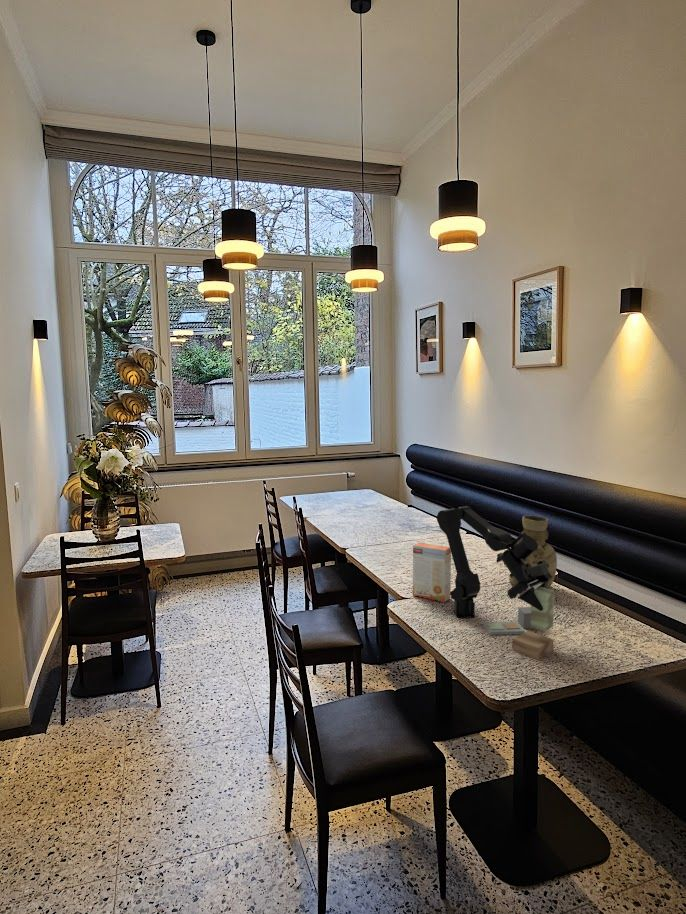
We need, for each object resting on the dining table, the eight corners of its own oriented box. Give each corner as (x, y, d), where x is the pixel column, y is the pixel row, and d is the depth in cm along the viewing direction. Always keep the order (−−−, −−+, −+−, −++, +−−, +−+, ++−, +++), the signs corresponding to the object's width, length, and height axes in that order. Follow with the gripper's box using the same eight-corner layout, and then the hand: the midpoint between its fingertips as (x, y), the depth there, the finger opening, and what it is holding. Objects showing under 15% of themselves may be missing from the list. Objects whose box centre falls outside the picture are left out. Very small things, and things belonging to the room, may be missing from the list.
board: (489, 634, 196) (489, 631, 196) (482, 625, 204) (482, 621, 204) (524, 633, 197) (524, 630, 197) (516, 624, 205) (516, 620, 205)
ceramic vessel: (502, 578, 254) (504, 510, 250) (554, 582, 248) (557, 513, 244) (501, 593, 236) (503, 520, 232) (557, 598, 229) (560, 523, 226)
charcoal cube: (523, 628, 202) (524, 613, 201) (517, 622, 207) (518, 607, 206) (539, 628, 202) (539, 613, 201) (533, 621, 207) (533, 607, 207)
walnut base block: (537, 660, 179) (538, 648, 178) (512, 650, 186) (512, 638, 185) (553, 651, 185) (553, 639, 184) (527, 642, 192) (528, 630, 191)
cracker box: (450, 598, 230) (452, 546, 227) (444, 603, 225) (445, 550, 222) (418, 591, 238) (419, 541, 235) (411, 596, 233) (412, 544, 230)
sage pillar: (544, 631, 184) (546, 594, 182) (530, 626, 188) (531, 590, 186) (552, 626, 187) (554, 590, 186) (538, 622, 191) (540, 586, 189)
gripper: (517, 559, 181) (548, 603, 174) (548, 547, 194) (578, 588, 187) (494, 577, 188) (524, 620, 181) (525, 565, 200) (554, 605, 194)
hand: (546, 608), depth 185 cm, fingers closed on sage pillar, 5 cm apart
